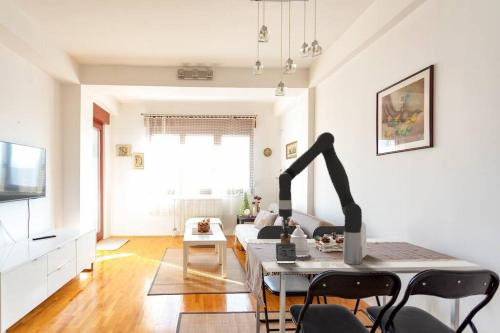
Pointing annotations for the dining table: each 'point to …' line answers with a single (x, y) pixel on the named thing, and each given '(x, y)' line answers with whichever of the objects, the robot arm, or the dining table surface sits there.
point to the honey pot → (300, 241)
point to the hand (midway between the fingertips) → (285, 236)
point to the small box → (285, 252)
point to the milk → (362, 240)
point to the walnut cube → (285, 239)
